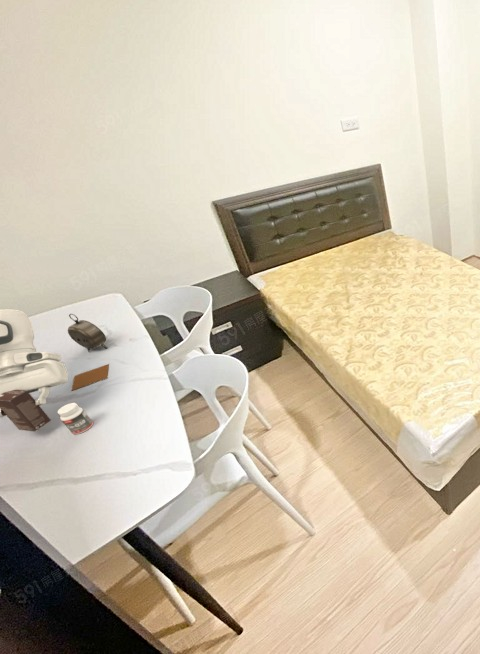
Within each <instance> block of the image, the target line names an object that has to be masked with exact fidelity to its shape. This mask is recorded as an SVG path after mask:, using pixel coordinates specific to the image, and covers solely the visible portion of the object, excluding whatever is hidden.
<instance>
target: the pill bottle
mask: <svg viewBox="0 0 480 654" xmlns="http://www.w3.org/2000/svg"><path fill="white" fill-rule="evenodd" d="M57 414H58V415H59V416H60V417H59V419H60V421H61V422H62V423H63V424H64V425H65V427H66V428H67V429H68V430H69V432H70V433H71V434H73V435H79V434H82V433H85V432H87V431H88V430H90V429H91V428H92V426H93V425H94V422H93V420H92V419H91V418H90V416H89V415H88V414H87V412H85V410H84V409H83V408H82V407H80V406H79V405H78V404H77V403H76V402H71V403H70V402H69V403H67V404H64V405H63V406H61V407H60V408H59V409H58V410H57Z"/></svg>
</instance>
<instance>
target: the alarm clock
mask: <svg viewBox="0 0 480 654" xmlns="http://www.w3.org/2000/svg"><path fill="white" fill-rule="evenodd" d="M71 316H74V317H75V318H76V319H74V318H73V317H71ZM68 317H69V318H70V319H71V320H72V321H74V323H73V324H71V325H70V326H68V328H67V334H68V335H69V337H70V338H71V340H73V341H74V342H75V343H76V344H78V345H79V346H80V347H83V348H86V349H87V352H88V353H90V351H91V350H94V349H97V348H98V347H100V346H101V347H103V348H104V350H105V349H108V346H106V345H105V344H104V343H107V336H106V334H105V333H104V332H103V331H102V329H101V328H99V327H98V326H97V325H95V324H94V323H93V322H90V321H88V320H83V319H80V320H79V318H78V316H77V315H75V314H74V313H69V314H68Z"/></svg>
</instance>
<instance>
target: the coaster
mask: <svg viewBox="0 0 480 654" xmlns="http://www.w3.org/2000/svg"><path fill="white" fill-rule="evenodd" d="M109 366H110V364H109V363H106V364H103V365H101V366H98V367H96V368H93V369H90V370H87V371H84V372H81V373H78V374H76V375H74V376H73V382H72V387H71V391H77V390H78V389H81V388H84V387H86V385H87V386H90V385H93V384H95V383H98V382H101V381H104V380H106V379H108V377H107V376H109ZM105 378H106V379H105ZM103 379H104V380H103ZM100 380H101V381H100ZM97 381H98V382H97ZM94 382H95V383H94ZM89 384H90V385H89Z"/></svg>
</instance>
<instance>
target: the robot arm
mask: <svg viewBox="0 0 480 654" xmlns="http://www.w3.org/2000/svg"><path fill="white" fill-rule="evenodd" d="M34 340H35V333H34V329H33V325H32V321H31V319H30V317H29V316H28V315H27V313H25V312H24V311H22V310H19V309H13V308H0V395H1V394H2V393H4V392H8V391H12V390H27V391H28V393H29V394H31V393H35V392H38V393H40V394H39V396H38V398H34V400H35V402H36V403H35V405H36V406H40V407H41V406H44V405H46V404H47V397H48V396H49V394H50V392H51V388H52V387H56V386H60V385H63V384H66V383H67V382H68V380H69V379H70V377H69V372H68V369H67V367H66V364H65V363H64V362H63V361H62V356H61V354H58V353H55V352H51V351H37V347H35V345H34ZM4 417H7V415H6V414H5V413H4V412H3V411H2V410H1V409H0V418H4Z"/></svg>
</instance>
